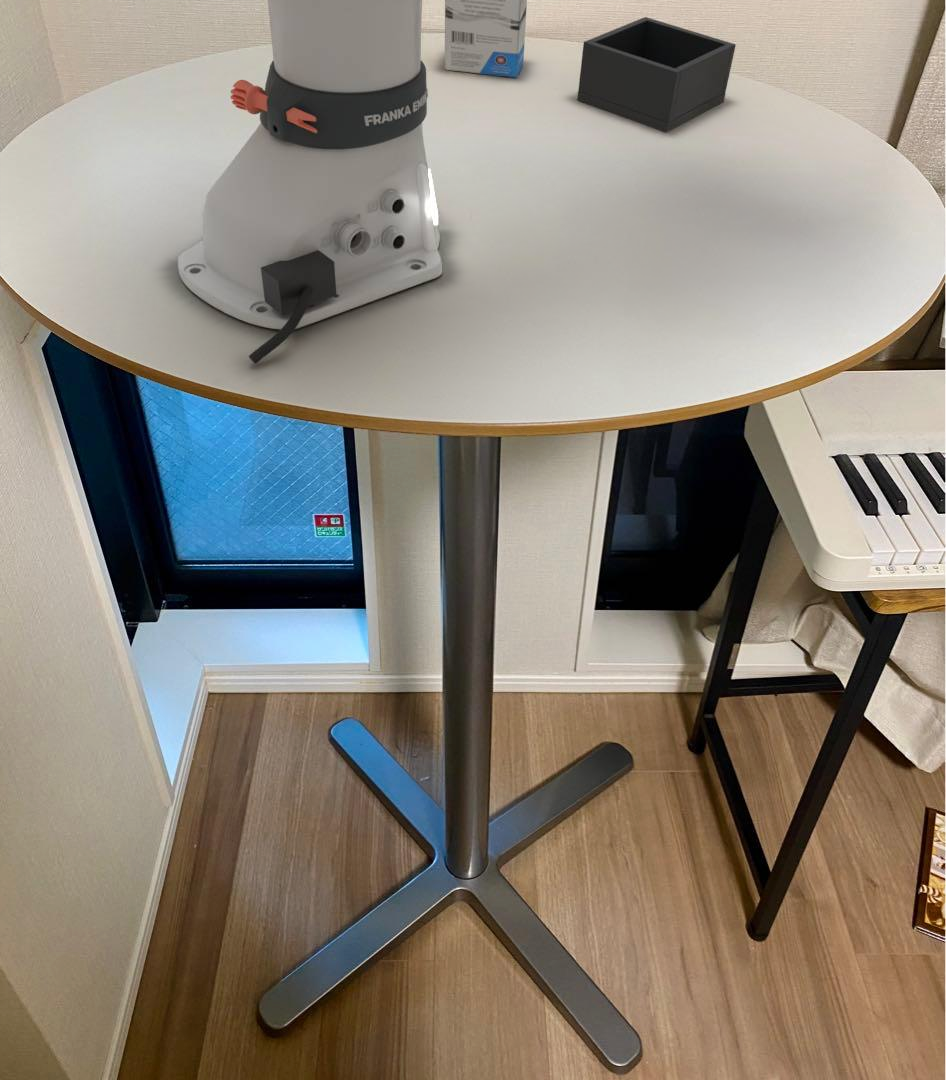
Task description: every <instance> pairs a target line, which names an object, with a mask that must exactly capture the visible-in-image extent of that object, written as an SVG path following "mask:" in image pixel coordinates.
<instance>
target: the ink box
mask: <svg viewBox="0 0 946 1080" xmlns="http://www.w3.org/2000/svg"><path fill="white" fill-rule="evenodd" d="M527 4H528V0H444V70H446V71H453V72H454V71H455V72H464V73H472V74H479V75H480V74H482V75H490V76H498V77H508V78H518V76H519V74H520V72H521V70H522V68H523V65H524V56H525V41H526V27H527V26H526V24H527V9H528V8H527Z"/></svg>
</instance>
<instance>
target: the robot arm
mask: <svg viewBox="0 0 946 1080" xmlns="http://www.w3.org/2000/svg"><path fill="white" fill-rule="evenodd" d="M267 7H268V8H267V10H268V17H269V28H270V37H271V47H272V59H273V60H272V61H271V63H270V65H269V69H268V73H267V77H266V82H265V87H264V88H263V87H261V86H260V85H254V84H253V83H251V82H250V81H248V80H246V79H238V80H237V81H236V82H235V83H233V85H232V89H231V90H230V94H232V95H230V100H232V101H231V103H232V105H234V106H235V108H238V109H240V110H242V111H243V110H244V111H247V112H248V113H249V114H251V115H258V114H259V121H260V123H259V125H258V127H257V128H256V129H255V130H254V132H253V133H252V134H251V136H250V137H249V138H248V139H247V141H245V143H244V145H243V147H242V148H241V149H240V150H239V152H238V153H237V154H236V155H235V157H234V158H233V159H232V161H231V162H230V164H229V165H228V166H227V167H226V168H225V170H224V171H223V172H222V174H221V175H220V176H219V178H218V179H216V181H215V183H214V184H212V186H210V189H209V190H208V191H207V193H206V195H205V197H204V201H203V206H202V218H201V219H202V222H201V224H202V225H201V227H202V239H201V240H200V241H198V242H196V243H195V244H194V245H192V246H191V247H189V248H187V249H185V250H184V251H183V252H182V253H180V254H179V255H178V256H177V269H178V275H179V277H180V279H181V281H182V283H183V284H184V285H185V287H187V289H189V290H190V291H191V292H192V293H193V294H194V295H196V296H197V297H198V298H200V299H201V300H202V301H204V302H205V303H207V304H209V305H210V306H211V307H213V308H215V309H217V310H219V311H221V312H222V313H224V314H226V315H228V316H230V317H233V318H234V319H238V320H240V321H243V322H245V323H248V324H250V325H255V326H257V327H262V328H266V329H272V330H278V331H277V332H276V333H275V334H274V335H273V336H272V337H270V338H269V339H268V340H267V341H266V342H264V343H263V344H261V345H260V346H259V347H258V348H256V349H255V350H253V352H251V353H250V354H249V355H248V358H249V359H250V360H251V362H252V363H253V364H254V365H257V364H258V363H259V362H260V361H262V360H263V358H265V357H266V356H267V355H269V354H270V353H271V352H273V351H274V350H275V349H276V348H278V347H279V346H280V345H281V344H283V343H284V342H285V341H286V340H287V339H288V338H289V337H290V336H291V334H292V333H293V332H294V331H295V330H297V329H301V328H304V327H306V326H309V325H311V324H314V323H316V322H317V323H318V322H320V321H323V320H325V319H328V318H330V317H333V316H336V315H338V314H342V313H344V312H347V311H350V310H351V309H355V308H358V307H361V306H363V305H366V304H368V303H371V302H374V301H377V300H380V299H382V298H385V297H387V296H390V295H394V294H397V293H398V292H402V291H404V290H407V289H410V288H412V287H414V286H417V285H421V284H423V283H426V282H428V281H429V282H430V281H432V280H434V279H437V278H439V277H440V276H441V275H442V274H443V263H442V257H441V254H440V251H439V250H438V249H439V246H440V242H441V233H440V229H439V226H438V225H439V213H438V207H437V202H436V196H435V189H434V183H433V178H432V177H433V176H432V173H431V168H429V166H428V161H427V160H428V159H427V154H426V148H425V141H424V132H423V122H424V121H425V119H426V117H427V115H428V102H427V101H428V97H429V90H428V88H427V85H428V84H427V67H426V65H425V63H424V62H423V60H422V57H421V56H422V50H421V49H422V19H423V18H422V16H423V15H422V14H423V0H267Z"/></svg>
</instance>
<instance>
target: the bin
mask: <svg viewBox="0 0 946 1080" xmlns="http://www.w3.org/2000/svg"><path fill="white" fill-rule="evenodd" d="M735 51H736V43H733V42H730V41H727V40H723V39H719V38H716V37H713V36H709V35H707V34H703V33H700V32H696V31H693V30H689V29H687V28H683V27H680V26H678V25H677V26H676V25H674V24H670V23H666V22H664V21H660V20H657V19H654V18H650V17H647V16H645V17H642V18H639V19H637V20H634V21H632V22H629V23H627V24H624V25H622V26H620V27H617V28H615V29H613V30H609V31H607V32H605V33H602V34H600V35H598V36H595V37H592V38H589V39H587V40H584V41H583V45H582V52H581V53H582V54H581V64H580V73H579V82H578V91H577V99H576V100H577V101H579V102H582V103H585V104H587V105H591V106H593V107H596V108H597V109H601V110H604V111H607V112H610V113H613V114H616V115H617V116H620V117H623V118H625V119H629V120H632V121H635V122H637V123H640V124H643V125H645V126H648V127H651V128H653V129H656V130H660V131H662V132H665V133H668V132H670V131H672V130H674V129H675V128H677V127H679V126H681V125H683V124H685V123H687V122H689V121H690V120H692V119H694V118H696V117H698V116H700V115H701V114H703V113H706V112H708V110H711V109H712V108H714V107H716V106H718V105H720V104H722V103H724V101H725V97H726V92H727V87H728V83H729V79H730V74H731V69H732V64H733V59H734V55H735Z"/></svg>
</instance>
